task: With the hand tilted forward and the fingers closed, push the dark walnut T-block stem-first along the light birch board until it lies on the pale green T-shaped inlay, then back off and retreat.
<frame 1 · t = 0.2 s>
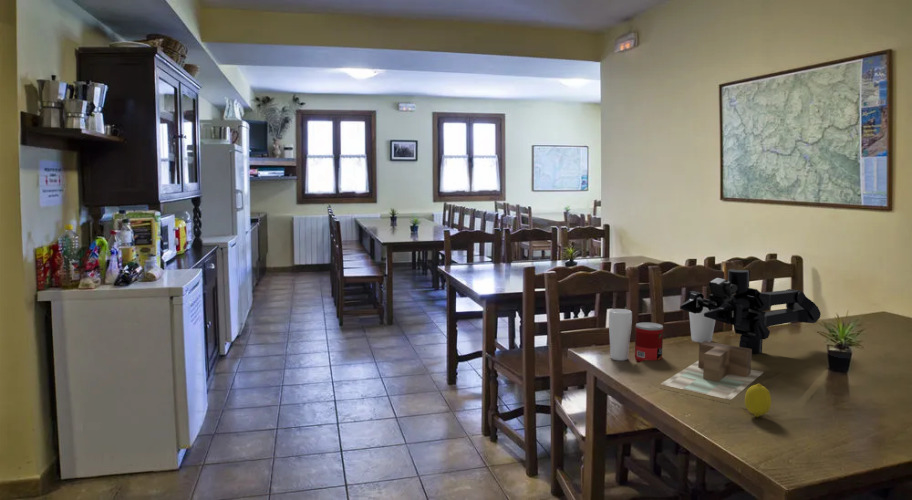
hand: (692, 311, 184), 16 cm above the table, tool horizontal, fingers open, 9 cm apart
t block: (724, 370, 178), point 1 cm above the table, touching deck
lemon: (756, 417, 147), on the table
light grey tumbler: (619, 359, 193), on the table
foam cup: (701, 341, 215), on the table
canned food: (648, 361, 192), on the table
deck: (711, 383, 170), on the table
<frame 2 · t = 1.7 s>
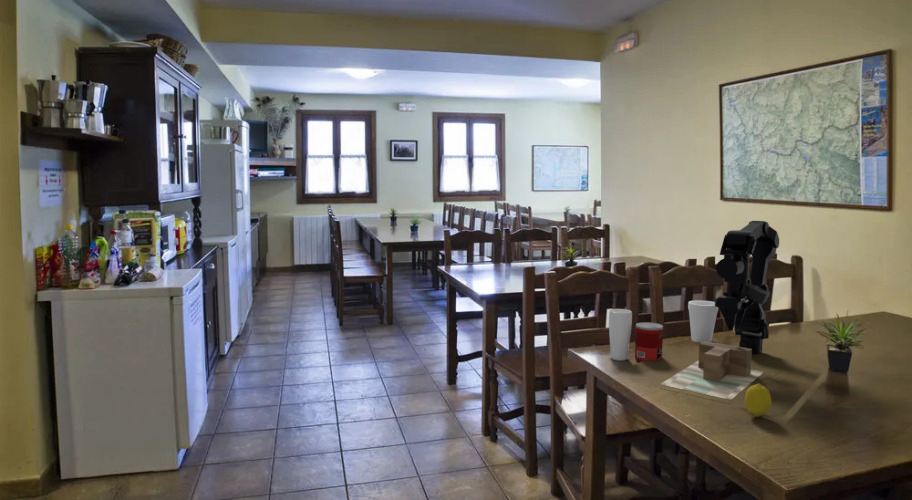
hand: (734, 327, 182), 12 cm above the table, tool pointing down, fingers open, 6 cm apart
nothing on the table moved.
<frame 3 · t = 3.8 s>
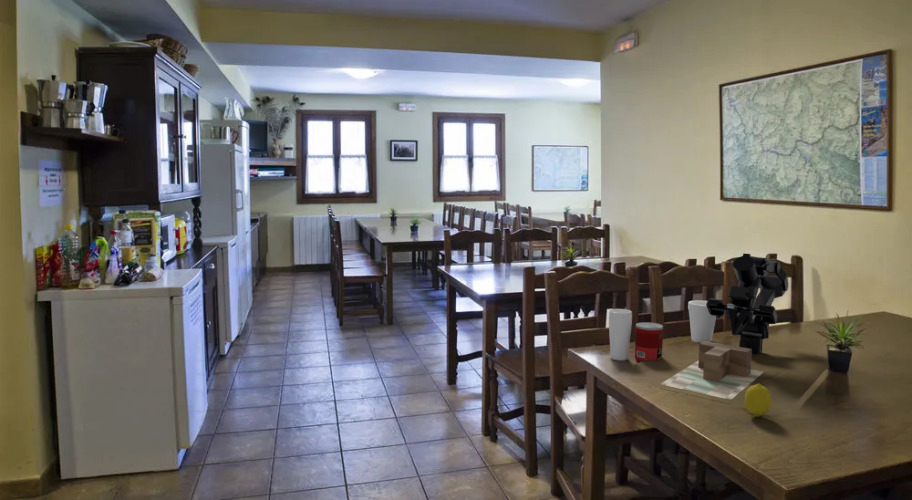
hand: (733, 334, 182), 10 cm above the table, tool tilted 45°, fingers closed
nothing on the table moved.
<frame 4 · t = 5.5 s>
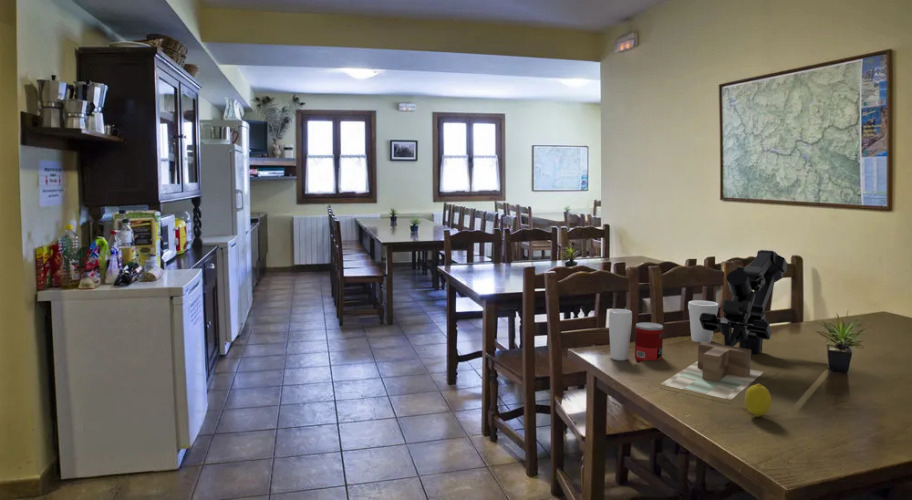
hand: (726, 349, 178), 7 cm above the table, tool tilted 45°, fingers closed
nothing on the table moved.
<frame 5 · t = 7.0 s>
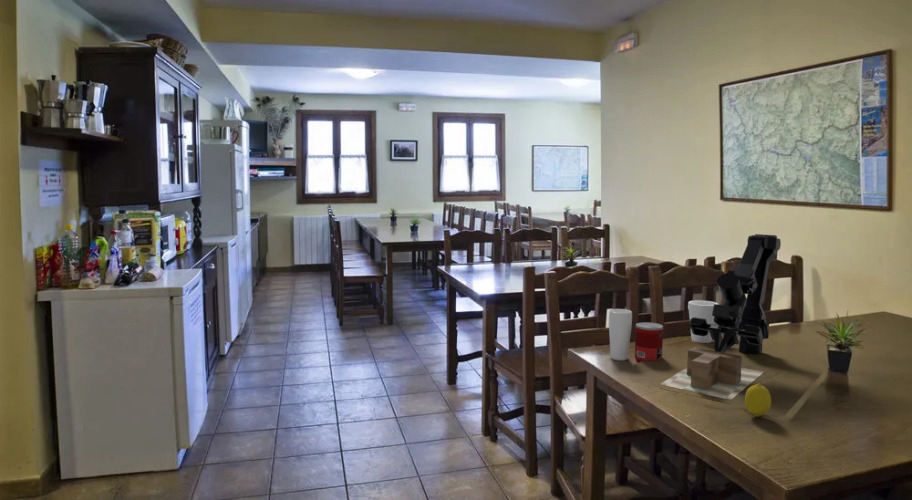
hand: (717, 356, 172), 7 cm above the table, tool tilted 45°, fingers closed, pressing on t block
t block: (713, 378, 171), point 1 cm above the table, touching gripper
everything else where it was.
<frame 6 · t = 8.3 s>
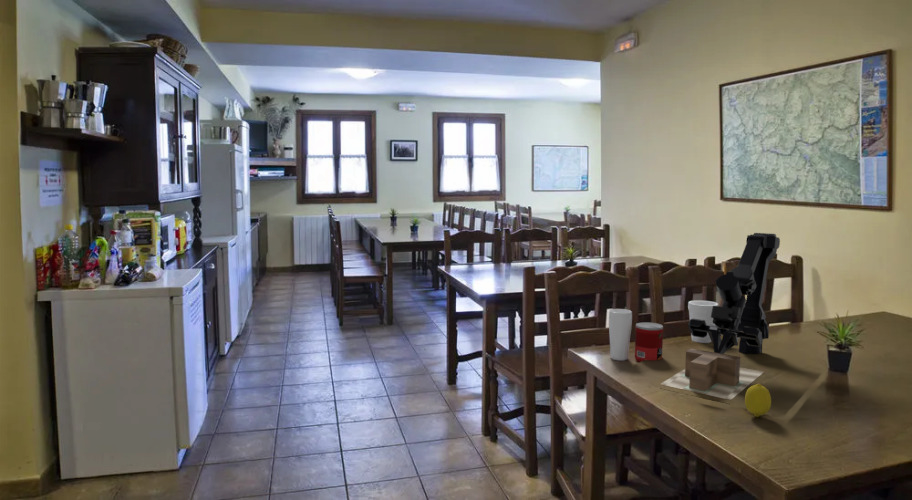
hand: (716, 357, 172), 7 cm above the table, tool tilted 45°, fingers closed
t block: (711, 379, 170), point 1 cm above the table, touching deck
everything else where it was.
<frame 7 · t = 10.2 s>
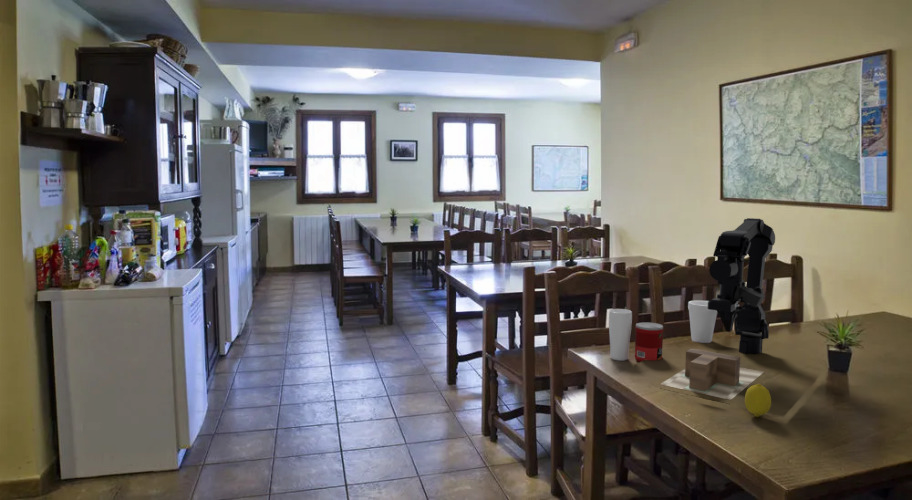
hand: (728, 331, 178), 12 cm above the table, tool pointing down, fingers closed
nothing on the table moved.
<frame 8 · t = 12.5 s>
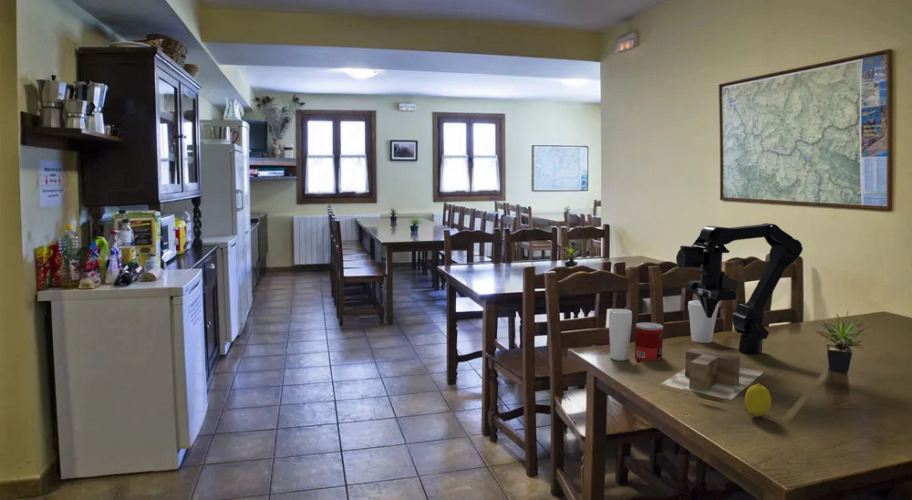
hand: (709, 317, 193), 13 cm above the table, tool pointing down, fingers closed
nothing on the table moved.
at the end: t block 0.1 cm from the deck (horizontally); t block tilted 0° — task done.
